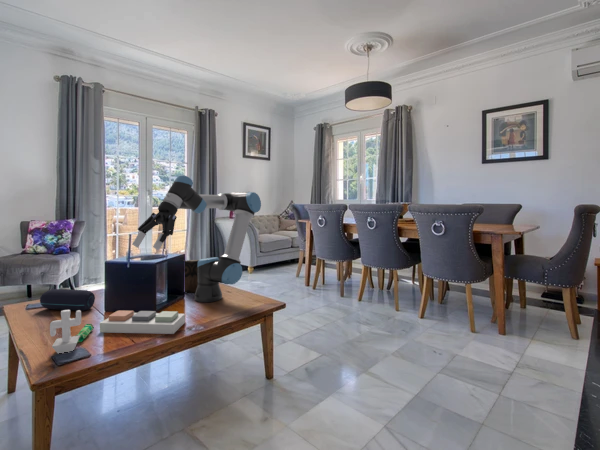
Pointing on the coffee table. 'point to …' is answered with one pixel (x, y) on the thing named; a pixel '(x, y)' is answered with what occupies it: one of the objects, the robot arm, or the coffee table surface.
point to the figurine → (65, 332)
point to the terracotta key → (121, 315)
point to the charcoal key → (144, 316)
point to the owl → (191, 276)
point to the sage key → (166, 316)
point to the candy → (85, 332)
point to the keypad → (142, 326)
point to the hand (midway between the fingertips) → (145, 247)
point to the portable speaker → (67, 299)
